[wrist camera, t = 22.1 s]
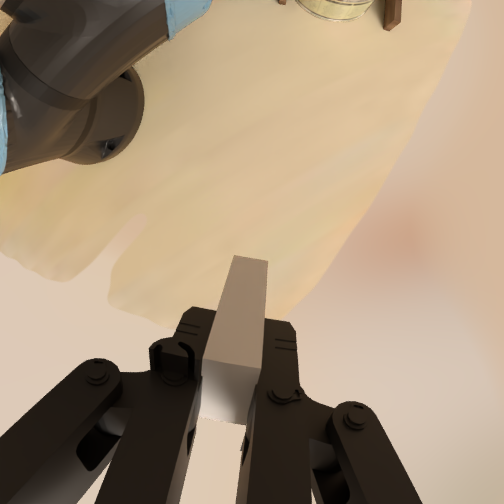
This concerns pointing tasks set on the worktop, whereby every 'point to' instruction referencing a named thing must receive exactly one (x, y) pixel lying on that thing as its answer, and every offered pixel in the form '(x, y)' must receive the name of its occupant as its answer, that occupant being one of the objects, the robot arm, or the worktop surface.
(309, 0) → the coffee can
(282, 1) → the comb rack
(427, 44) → the worktop surface
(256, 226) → the worktop surface
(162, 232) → the worktop surface
